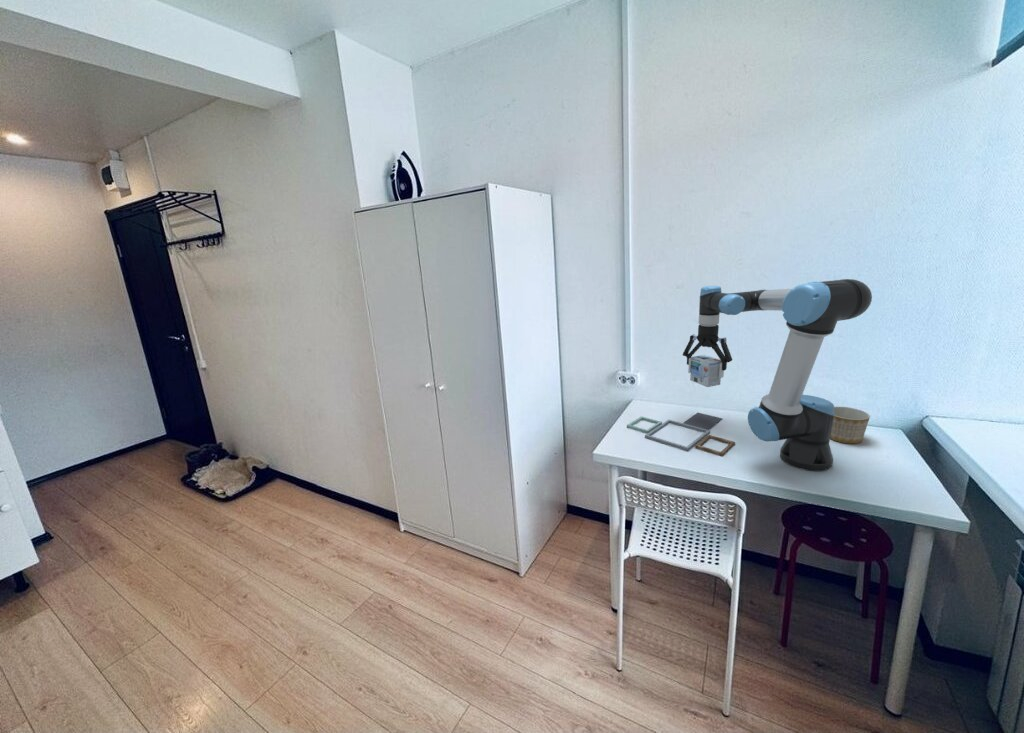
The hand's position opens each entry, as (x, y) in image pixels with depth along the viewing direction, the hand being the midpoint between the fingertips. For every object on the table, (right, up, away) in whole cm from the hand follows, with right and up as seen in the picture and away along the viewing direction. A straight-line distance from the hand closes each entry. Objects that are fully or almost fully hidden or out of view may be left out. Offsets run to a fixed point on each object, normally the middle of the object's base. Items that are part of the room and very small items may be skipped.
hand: (705, 374), depth 172 cm
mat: (+2, -21, +6) cm, 22 cm away
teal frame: (-24, -23, +6) cm, 33 cm away
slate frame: (-14, -25, -5) cm, 29 cm away
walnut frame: (-4, -27, -15) cm, 32 cm away
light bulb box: (0, -4, +1) cm, 4 cm away
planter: (+45, -24, -16) cm, 54 cm away
